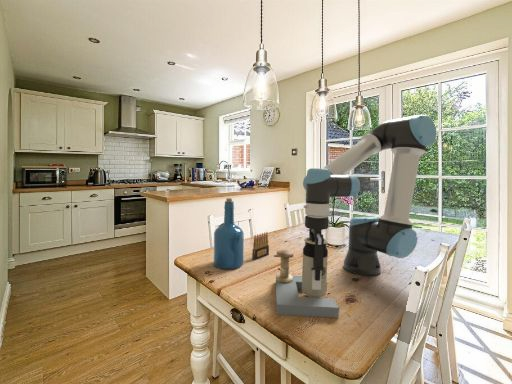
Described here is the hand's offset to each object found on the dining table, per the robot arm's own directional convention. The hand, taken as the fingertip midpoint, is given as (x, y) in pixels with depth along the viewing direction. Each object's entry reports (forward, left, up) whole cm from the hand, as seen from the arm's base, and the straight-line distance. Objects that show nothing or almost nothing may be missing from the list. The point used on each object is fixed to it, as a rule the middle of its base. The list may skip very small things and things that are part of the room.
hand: (314, 283), depth 86 cm
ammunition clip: (+20, -39, -5) cm, 44 cm away
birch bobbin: (+10, -7, -2) cm, 12 cm away
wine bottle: (+34, -27, -5) cm, 43 cm away
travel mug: (0, 0, -3) cm, 3 cm away
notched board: (+4, 0, -5) cm, 6 cm away
